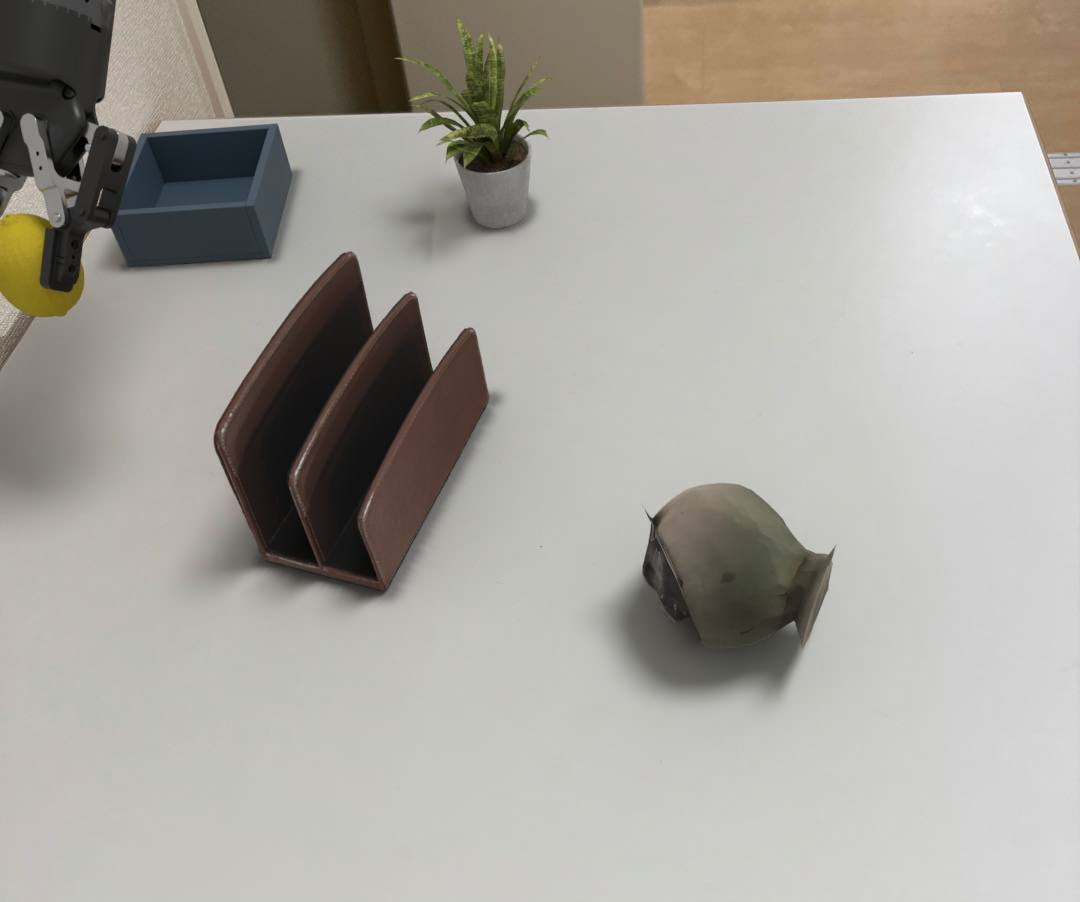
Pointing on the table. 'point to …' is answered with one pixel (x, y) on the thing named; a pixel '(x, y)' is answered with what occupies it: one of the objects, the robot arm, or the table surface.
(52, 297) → the lemon
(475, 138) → the house plant
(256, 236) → the bin
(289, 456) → the letter holder
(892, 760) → the table surface
